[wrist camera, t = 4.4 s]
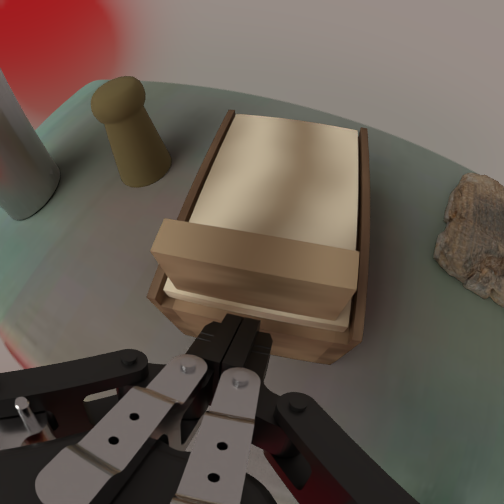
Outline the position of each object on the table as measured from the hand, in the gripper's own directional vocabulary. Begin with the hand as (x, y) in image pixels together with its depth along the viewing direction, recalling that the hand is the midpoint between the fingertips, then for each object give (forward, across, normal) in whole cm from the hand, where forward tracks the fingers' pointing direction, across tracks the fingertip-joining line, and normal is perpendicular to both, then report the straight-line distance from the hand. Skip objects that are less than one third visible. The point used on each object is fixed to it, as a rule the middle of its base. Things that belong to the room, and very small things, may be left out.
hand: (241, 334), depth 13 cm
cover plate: (+8, 0, -5) cm, 9 cm away
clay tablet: (+16, -25, -3) cm, 30 cm away
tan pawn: (+18, +16, -5) cm, 25 cm away
